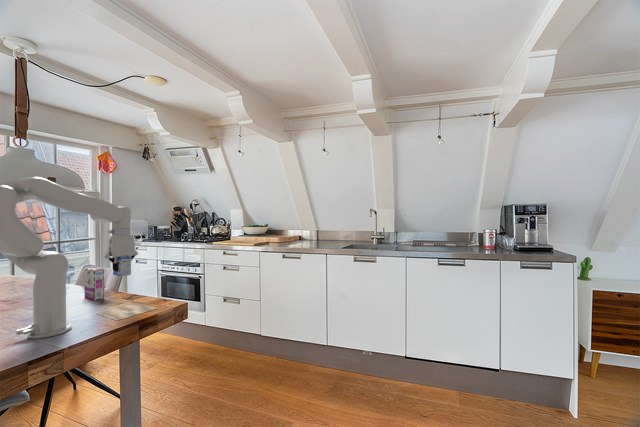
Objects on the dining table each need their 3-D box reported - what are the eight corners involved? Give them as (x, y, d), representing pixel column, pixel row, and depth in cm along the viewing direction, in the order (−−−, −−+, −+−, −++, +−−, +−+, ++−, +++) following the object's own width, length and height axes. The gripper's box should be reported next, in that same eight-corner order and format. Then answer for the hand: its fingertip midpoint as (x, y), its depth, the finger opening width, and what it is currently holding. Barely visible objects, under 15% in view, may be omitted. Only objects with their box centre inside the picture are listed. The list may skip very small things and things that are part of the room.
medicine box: (112, 274, 142) (112, 256, 142) (122, 273, 146) (122, 255, 146) (121, 276, 138) (121, 258, 138) (131, 274, 142) (131, 256, 142)
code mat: (116, 320, 128) (116, 320, 128) (96, 314, 136) (96, 313, 136) (157, 308, 143) (157, 308, 143) (136, 303, 152) (136, 302, 152)
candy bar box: (104, 298, 161) (104, 268, 161) (94, 301, 157) (93, 270, 157) (94, 295, 167) (94, 266, 167) (84, 298, 162) (83, 268, 162)
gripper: (104, 233, 133) (105, 274, 133) (144, 231, 147) (144, 268, 147) (97, 233, 137) (97, 272, 137) (136, 231, 151) (136, 266, 151)
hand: (121, 269), depth 142 cm, fingers closed on medicine box, 4 cm apart
